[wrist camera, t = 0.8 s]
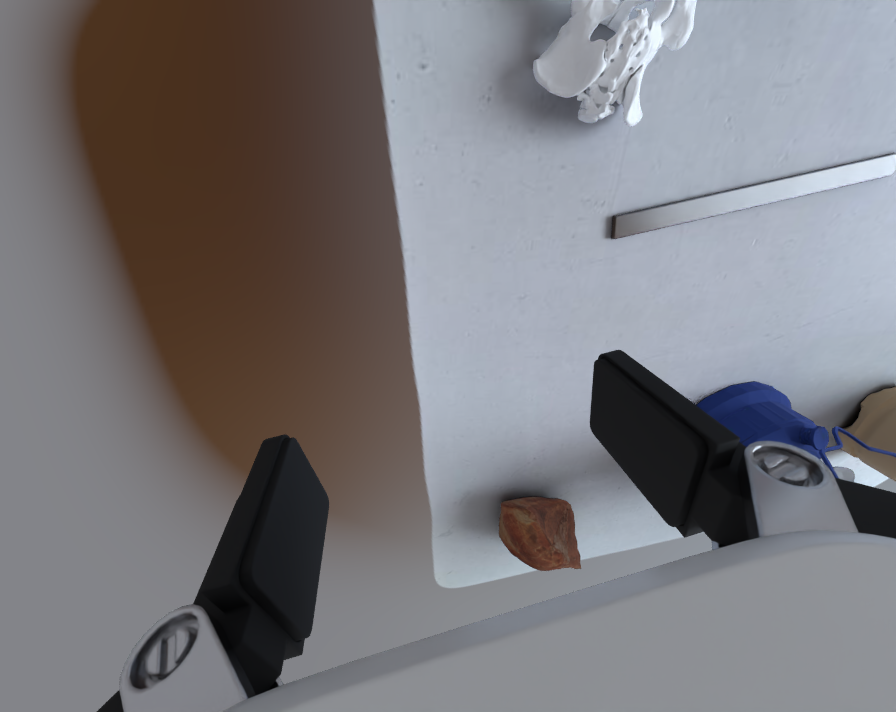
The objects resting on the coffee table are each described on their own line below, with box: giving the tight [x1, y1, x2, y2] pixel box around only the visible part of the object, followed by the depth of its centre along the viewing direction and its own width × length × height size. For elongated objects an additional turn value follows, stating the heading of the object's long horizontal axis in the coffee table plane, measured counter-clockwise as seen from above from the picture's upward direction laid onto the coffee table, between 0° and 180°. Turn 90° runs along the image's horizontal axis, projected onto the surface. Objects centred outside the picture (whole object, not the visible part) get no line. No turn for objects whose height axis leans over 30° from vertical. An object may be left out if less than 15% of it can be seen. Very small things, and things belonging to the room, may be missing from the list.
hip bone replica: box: [533, 0, 697, 127], centre depth 18 cm, size 8×4×7 cm
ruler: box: [611, 153, 896, 239], centre depth 25 cm, size 2×24×1 cm, turn 100°
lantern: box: [696, 381, 896, 482], centre depth 27 cm, size 17×15×30 cm
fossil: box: [499, 497, 581, 571], centre depth 36 cm, size 13×8×10 cm
